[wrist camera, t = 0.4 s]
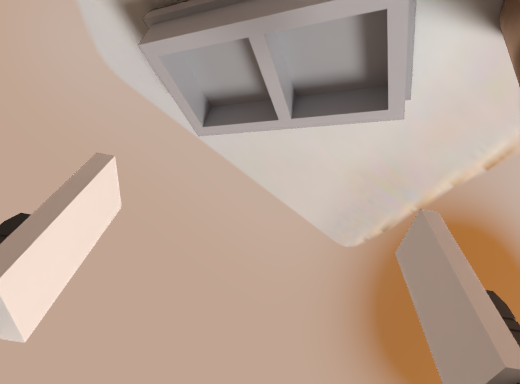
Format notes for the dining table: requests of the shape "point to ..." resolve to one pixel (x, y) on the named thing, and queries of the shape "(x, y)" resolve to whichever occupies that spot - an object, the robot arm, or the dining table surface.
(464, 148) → the dining table surface
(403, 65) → the two-compartment grey tray
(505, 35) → the wooden dome-top peg
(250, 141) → the dining table surface
